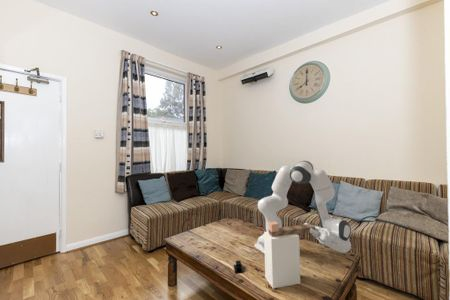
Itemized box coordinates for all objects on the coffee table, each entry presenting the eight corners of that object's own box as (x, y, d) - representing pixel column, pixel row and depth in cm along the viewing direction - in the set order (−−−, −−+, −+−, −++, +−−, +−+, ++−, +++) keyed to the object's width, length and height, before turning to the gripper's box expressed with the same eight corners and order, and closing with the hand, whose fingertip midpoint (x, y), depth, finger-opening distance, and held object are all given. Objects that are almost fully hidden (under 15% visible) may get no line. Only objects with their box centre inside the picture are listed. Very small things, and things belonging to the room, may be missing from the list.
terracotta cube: (271, 232, 113) (271, 224, 113) (268, 229, 117) (268, 222, 117) (278, 231, 114) (278, 223, 114) (275, 228, 118) (275, 221, 118)
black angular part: (232, 264, 135) (232, 257, 135) (243, 263, 136) (243, 256, 136) (233, 276, 123) (233, 268, 123) (246, 275, 123) (246, 267, 123)
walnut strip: (272, 236, 113) (272, 232, 113) (268, 233, 117) (268, 229, 117) (315, 231, 118) (315, 226, 118) (310, 228, 123) (310, 223, 123)
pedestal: (272, 288, 110) (271, 239, 110) (265, 277, 120) (263, 231, 120) (300, 283, 114) (299, 235, 113) (290, 272, 124) (289, 228, 123)
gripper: (336, 250, 112) (316, 240, 109) (312, 234, 132) (294, 226, 129) (341, 239, 113) (321, 229, 110) (316, 225, 133) (299, 216, 130)
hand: (306, 227), depth 120 cm, fingers closed on walnut strip, 4 cm apart
